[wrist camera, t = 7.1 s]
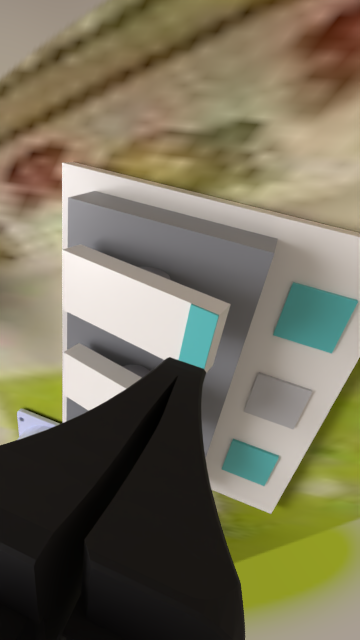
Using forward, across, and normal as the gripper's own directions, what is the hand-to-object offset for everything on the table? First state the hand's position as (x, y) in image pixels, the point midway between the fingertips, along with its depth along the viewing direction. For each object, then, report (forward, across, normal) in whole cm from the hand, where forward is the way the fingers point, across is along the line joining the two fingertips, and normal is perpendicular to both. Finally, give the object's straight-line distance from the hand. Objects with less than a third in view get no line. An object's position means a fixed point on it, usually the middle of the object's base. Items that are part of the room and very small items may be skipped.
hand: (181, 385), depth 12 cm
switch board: (+9, +1, +6) cm, 11 cm away
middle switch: (+5, +3, +6) cm, 8 cm away
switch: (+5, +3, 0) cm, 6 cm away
